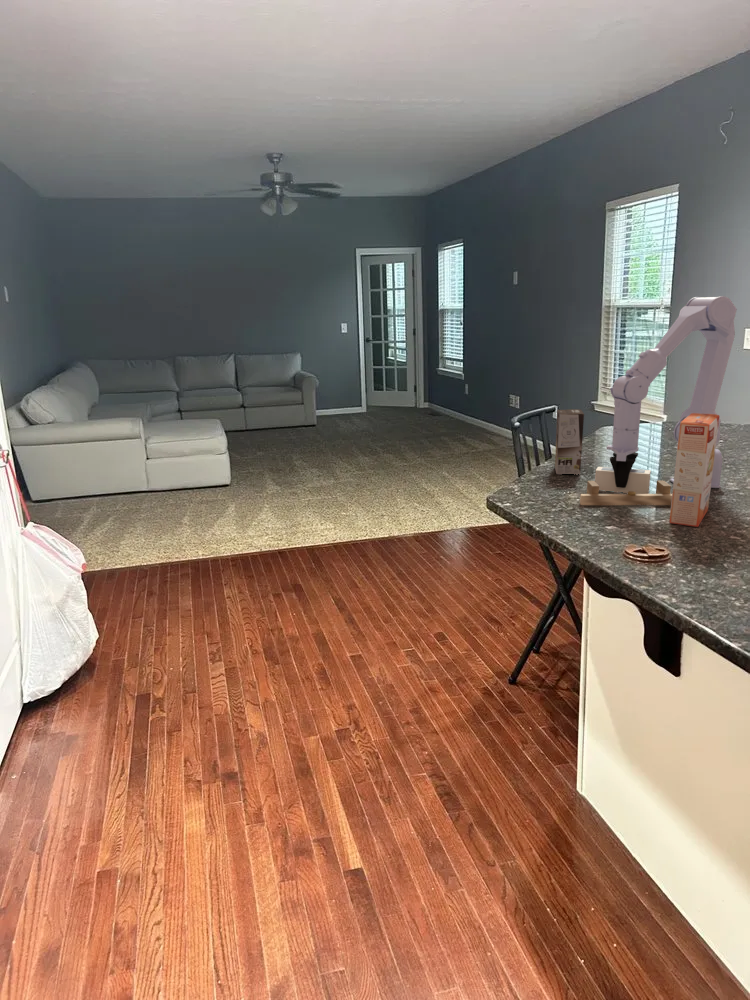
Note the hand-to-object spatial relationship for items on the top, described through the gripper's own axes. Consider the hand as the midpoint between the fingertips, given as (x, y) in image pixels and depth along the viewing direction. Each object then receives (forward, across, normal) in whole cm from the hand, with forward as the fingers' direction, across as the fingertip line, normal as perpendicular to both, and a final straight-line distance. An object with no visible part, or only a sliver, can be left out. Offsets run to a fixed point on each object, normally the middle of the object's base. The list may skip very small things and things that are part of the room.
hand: (622, 484), depth 167 cm
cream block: (+1, 0, 0) cm, 1 cm away
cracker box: (+2, +18, +15) cm, 23 cm away
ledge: (+1, +9, +2) cm, 10 cm away
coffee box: (+2, -16, -16) cm, 22 cm away
